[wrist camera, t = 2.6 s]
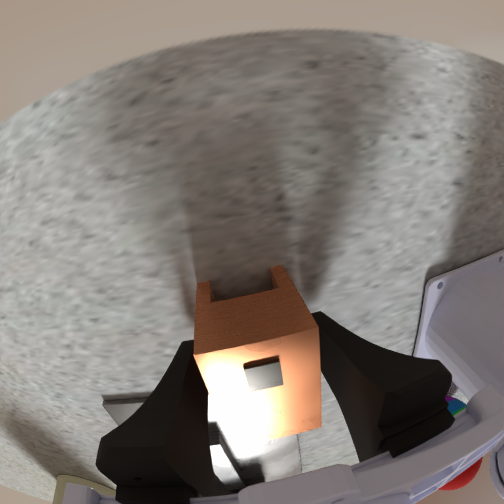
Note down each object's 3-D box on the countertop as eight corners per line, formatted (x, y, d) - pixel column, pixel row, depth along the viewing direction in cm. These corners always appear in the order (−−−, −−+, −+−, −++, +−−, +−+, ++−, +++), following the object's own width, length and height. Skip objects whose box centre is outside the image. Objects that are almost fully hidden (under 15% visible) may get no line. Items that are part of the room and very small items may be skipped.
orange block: (282, 264, 13) (320, 329, 9) (294, 358, 16) (322, 428, 11) (196, 283, 13) (193, 358, 8) (225, 374, 15) (234, 449, 11)
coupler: (288, 373, 16) (306, 425, 12) (301, 473, 22) (310, 504, 18) (103, 400, 15) (90, 448, 11) (184, 490, 21) (185, 522, 17)
